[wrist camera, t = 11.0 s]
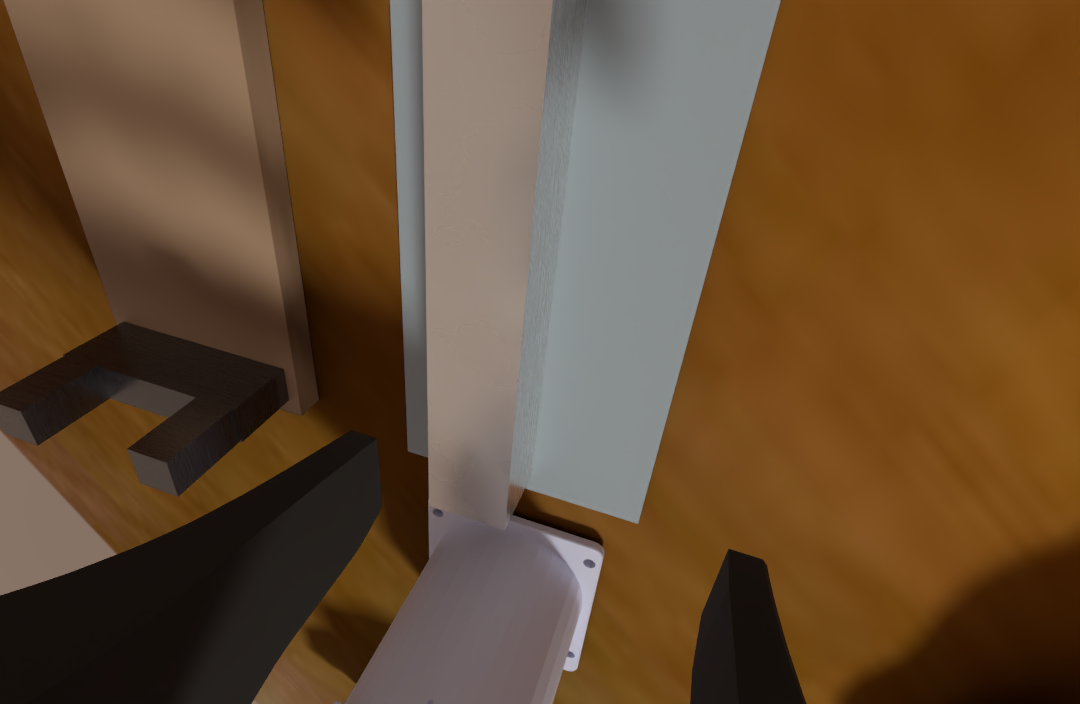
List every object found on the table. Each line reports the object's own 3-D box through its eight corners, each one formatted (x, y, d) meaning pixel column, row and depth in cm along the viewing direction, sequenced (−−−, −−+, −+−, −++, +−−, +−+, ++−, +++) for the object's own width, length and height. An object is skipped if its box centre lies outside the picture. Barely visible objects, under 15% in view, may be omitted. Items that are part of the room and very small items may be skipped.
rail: (531, 474, 24) (504, 530, 22) (462, 453, 25) (428, 505, 23) (625, -317, 12) (587, -386, 10) (484, -320, 13) (416, -385, 10)
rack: (318, 399, 27) (197, 515, 21) (151, 348, 29) (-1, 442, 23) (215, -328, 14) (-141, -508, 9) (-67, -334, 16) (-507, -486, 11)
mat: (639, 516, 24) (637, 523, 24) (412, 445, 26) (407, 451, 26) (888, -396, 11) (891, -406, 11) (384, -393, 13) (373, -401, 13)
